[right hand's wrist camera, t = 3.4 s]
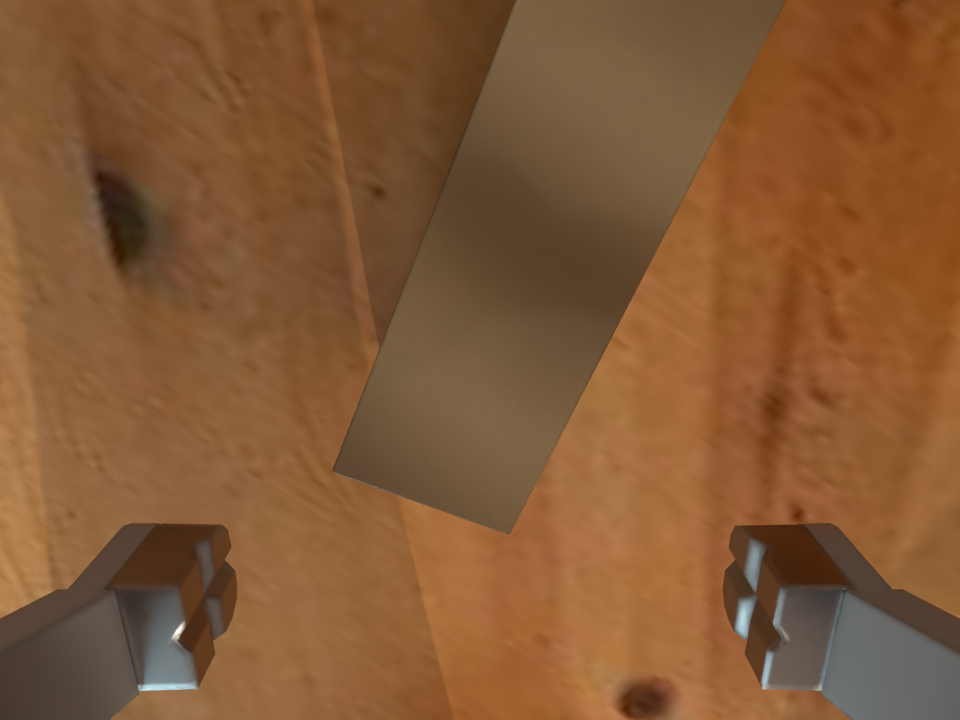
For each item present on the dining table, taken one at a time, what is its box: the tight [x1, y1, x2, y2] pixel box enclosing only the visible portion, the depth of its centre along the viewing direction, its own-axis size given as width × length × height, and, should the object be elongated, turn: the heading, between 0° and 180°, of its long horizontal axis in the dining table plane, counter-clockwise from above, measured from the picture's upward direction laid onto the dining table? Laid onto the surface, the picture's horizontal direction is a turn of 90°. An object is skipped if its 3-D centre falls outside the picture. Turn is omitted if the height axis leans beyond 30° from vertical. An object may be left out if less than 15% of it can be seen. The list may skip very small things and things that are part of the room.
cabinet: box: [333, 0, 786, 534], centre depth 21 cm, size 18×6×10 cm, turn 157°
